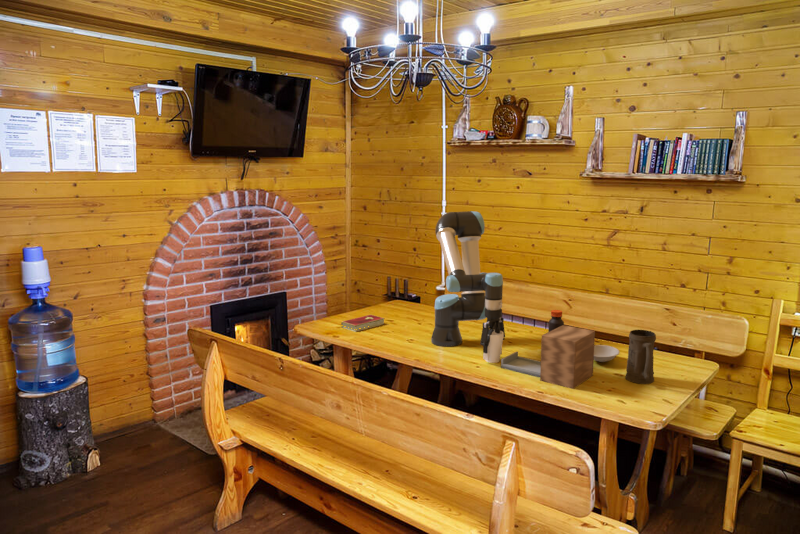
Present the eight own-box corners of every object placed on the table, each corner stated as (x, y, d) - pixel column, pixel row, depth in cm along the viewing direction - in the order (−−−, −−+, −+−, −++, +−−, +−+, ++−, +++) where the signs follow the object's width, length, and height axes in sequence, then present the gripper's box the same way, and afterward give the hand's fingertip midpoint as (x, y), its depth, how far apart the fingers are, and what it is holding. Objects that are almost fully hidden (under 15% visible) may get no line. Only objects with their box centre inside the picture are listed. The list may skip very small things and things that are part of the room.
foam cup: (502, 364, 253) (503, 335, 251) (481, 363, 255) (481, 334, 253) (503, 357, 262) (503, 329, 260) (482, 356, 264) (483, 328, 262)
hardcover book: (341, 328, 313) (341, 321, 313) (370, 321, 328) (370, 313, 327) (355, 332, 305) (355, 325, 304) (384, 325, 319) (384, 317, 318)
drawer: (501, 367, 249) (501, 358, 248) (516, 360, 259) (516, 351, 258) (543, 378, 236) (544, 369, 235) (557, 369, 246) (558, 360, 245)
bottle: (554, 356, 263) (556, 313, 260) (544, 352, 269) (545, 310, 266) (565, 353, 266) (567, 311, 263) (555, 349, 272) (557, 308, 269)
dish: (612, 370, 245) (613, 359, 244) (579, 364, 252) (579, 353, 252) (623, 358, 259) (623, 348, 258) (590, 353, 267) (591, 342, 266)
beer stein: (619, 374, 240) (623, 328, 235) (644, 373, 241) (649, 327, 236) (637, 390, 225) (642, 342, 220) (664, 389, 226) (669, 341, 221)
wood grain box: (540, 380, 234) (541, 335, 231) (561, 367, 248) (562, 325, 245) (573, 388, 225) (575, 341, 222) (592, 375, 239) (595, 331, 236)
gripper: (487, 314, 244) (486, 365, 248) (513, 304, 260) (512, 352, 264) (472, 311, 249) (471, 361, 252) (499, 302, 265) (498, 349, 269)
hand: (492, 356), depth 258 cm, fingers open, 10 cm apart
